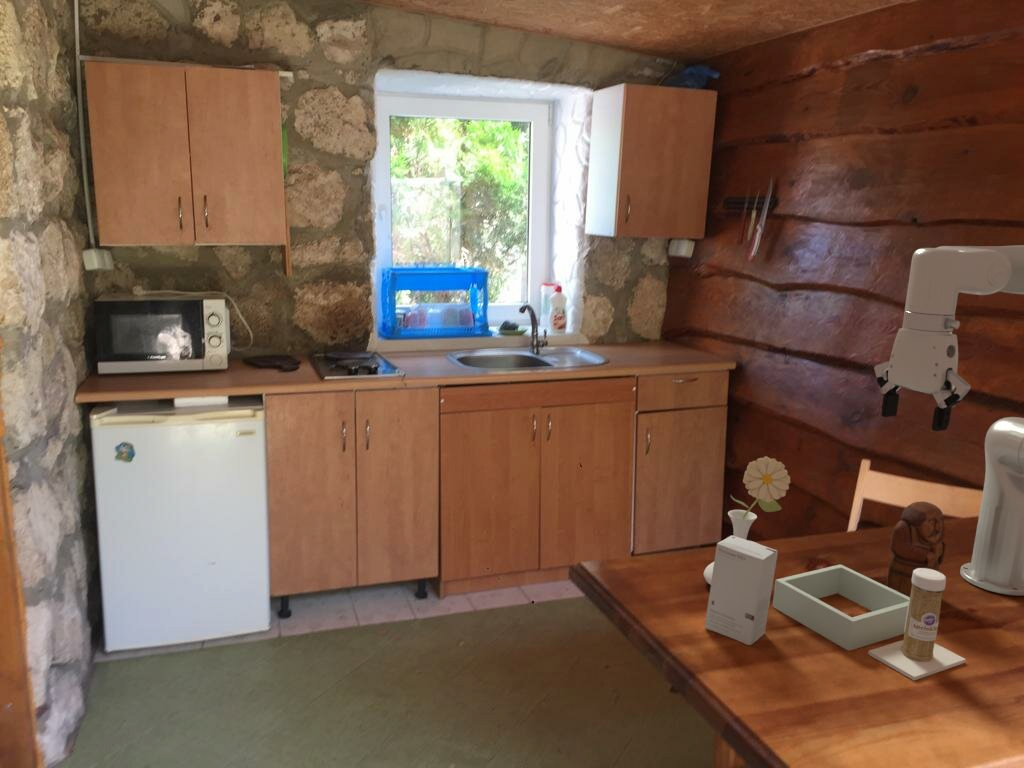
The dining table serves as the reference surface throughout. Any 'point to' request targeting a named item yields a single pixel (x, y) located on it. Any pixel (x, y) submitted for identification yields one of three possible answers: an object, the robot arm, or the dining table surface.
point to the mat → (913, 667)
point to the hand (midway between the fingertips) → (913, 422)
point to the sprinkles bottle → (923, 613)
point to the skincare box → (741, 589)
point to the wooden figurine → (916, 544)
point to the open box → (848, 632)
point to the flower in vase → (757, 496)
